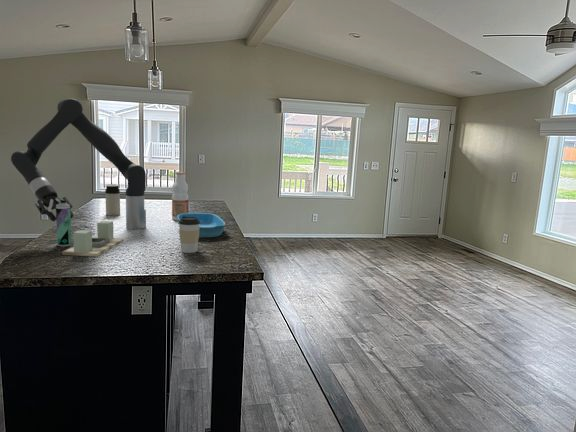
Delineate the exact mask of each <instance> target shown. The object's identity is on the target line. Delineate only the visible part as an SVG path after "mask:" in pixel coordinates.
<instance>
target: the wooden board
mask: <svg viewBox="0 0 576 432" xmlns="http://www.w3.org/2000/svg"><path fill="white" fill-rule="evenodd" d="M92 238H98V236H92ZM123 242H125V240H124V238H117V237H116V238H114V239H112V240H110V241H109V243H108V244H107V245H105V246H103V247H101V248H93V247H92V250H91V251H89V252H87V253H81V252H74V246H72V247H70V248H68V249H65V250H63V251H62V255H63V256H64V255H65V256H67V255H68V256H81V257H95V258H97V257H98V256H100V255H103V254H104V253H106V252H108V251H109V250H111V249H113V248H114V247H117V246H119V245H120V244H121V243H123ZM107 250H108V251H107Z"/></svg>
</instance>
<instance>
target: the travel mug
mask: <svg viewBox="0 0 576 432" xmlns="http://www.w3.org/2000/svg"><path fill="white" fill-rule="evenodd" d="M119 187H120V184H114V183H112V184H111V183H109V184H105V188H106V189H105V190H104V191H105V215H107V216H111V217H115V216H120V215H121V190H120V189H119Z"/></svg>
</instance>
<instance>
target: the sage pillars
mask: <svg viewBox="0 0 576 432" xmlns="http://www.w3.org/2000/svg"><path fill="white" fill-rule="evenodd" d="M96 227H97V228H96V231H97V232H96V233H97V237H98V238H107V239H109V241H110V240H112V239H114V221H111V220H110V221H109V220H102V221H99V222H97V223H96ZM92 232H93V231H92V230H86V229H85V230H84V229H79V230H76V231H74V232H72V235H73V237H72V238H73V239H72V240H73V247H74V252H81V253H87V252H89V251H91V250H92V238H93V234H92Z"/></svg>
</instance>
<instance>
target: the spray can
mask: <svg viewBox="0 0 576 432" xmlns="http://www.w3.org/2000/svg"><path fill="white" fill-rule="evenodd" d="M60 199H61V202H59V204H58V205H56V209H55V217H56V220H55V222H56V236H57V237H56V238H57V239H56V240H57V247H70V246H72V245H73V241H72V240H73V239H72V238H73V237H72V218H71V214H70V210H71V209H70V205H69V204H67V203H66V202H65V200H64V199H62V198H60Z"/></svg>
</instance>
